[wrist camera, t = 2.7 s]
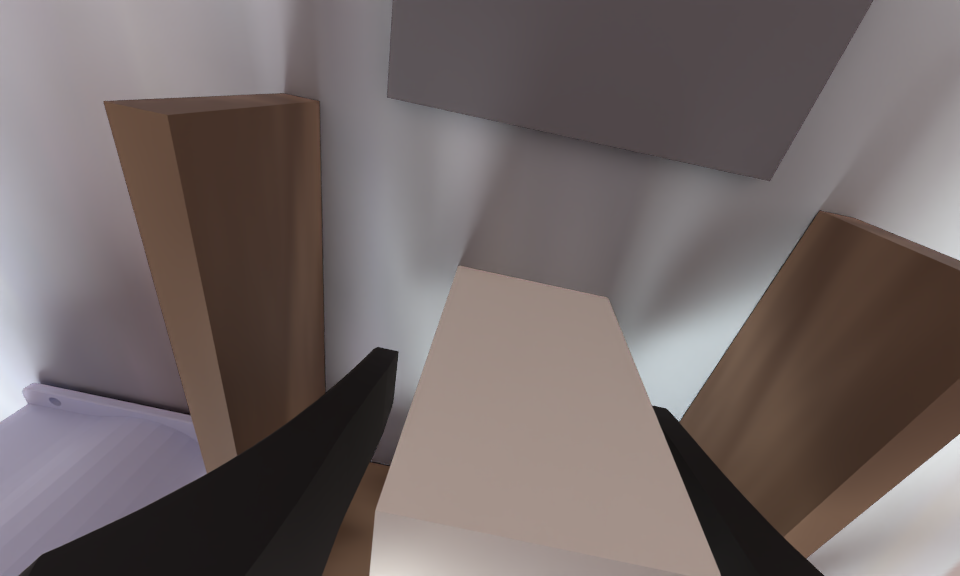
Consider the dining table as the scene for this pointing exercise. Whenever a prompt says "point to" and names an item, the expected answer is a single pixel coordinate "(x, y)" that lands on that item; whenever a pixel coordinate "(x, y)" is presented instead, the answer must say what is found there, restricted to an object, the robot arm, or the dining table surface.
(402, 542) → the cream block
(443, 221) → the dining table surface
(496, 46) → the charcoal mat
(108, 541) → the robot arm
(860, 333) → the walnut u-shaped frame
